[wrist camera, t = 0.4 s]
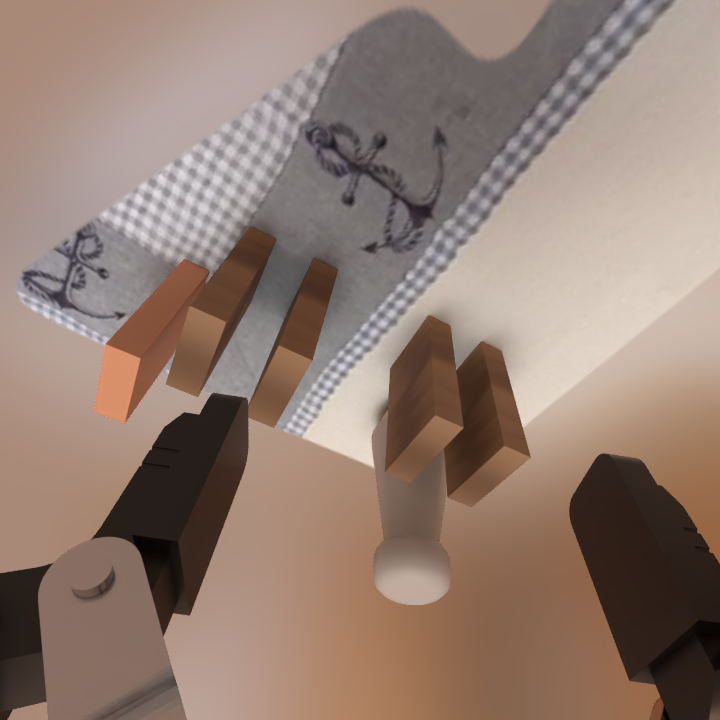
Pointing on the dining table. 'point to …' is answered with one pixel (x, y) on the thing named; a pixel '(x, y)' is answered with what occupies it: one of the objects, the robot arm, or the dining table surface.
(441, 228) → the dining table surface
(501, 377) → the domino
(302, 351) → the domino
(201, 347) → the domino
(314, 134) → the dining table surface
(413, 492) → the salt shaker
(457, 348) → the dining table surface
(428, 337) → the domino
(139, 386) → the domino
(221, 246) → the dining table surface
